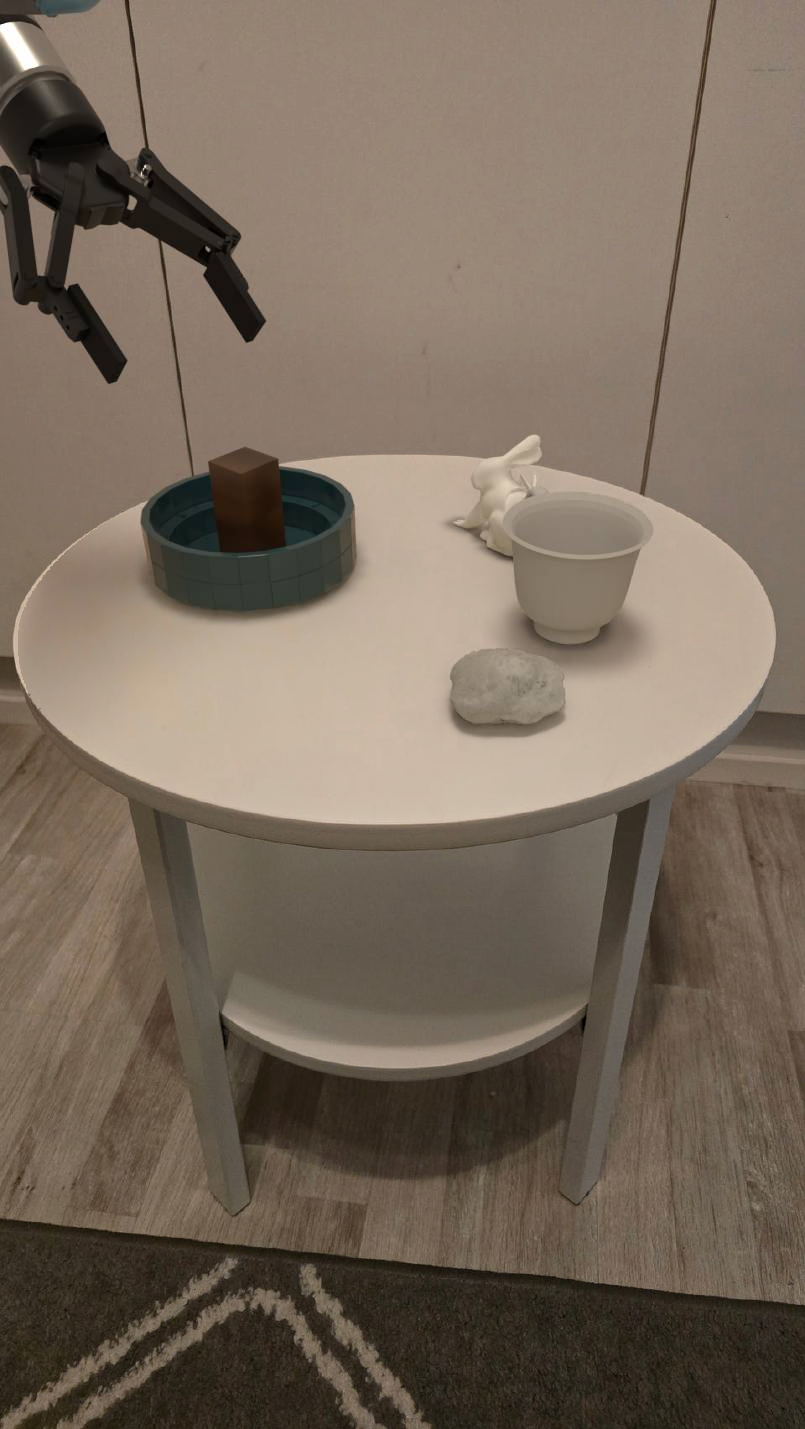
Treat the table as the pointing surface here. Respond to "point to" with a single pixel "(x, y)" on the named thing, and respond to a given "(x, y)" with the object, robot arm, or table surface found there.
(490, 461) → the rabbit figurine
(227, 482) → the walnut block
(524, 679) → the pebble
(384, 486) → the table surface
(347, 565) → the bowl
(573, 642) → the teacup
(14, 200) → the robot arm
